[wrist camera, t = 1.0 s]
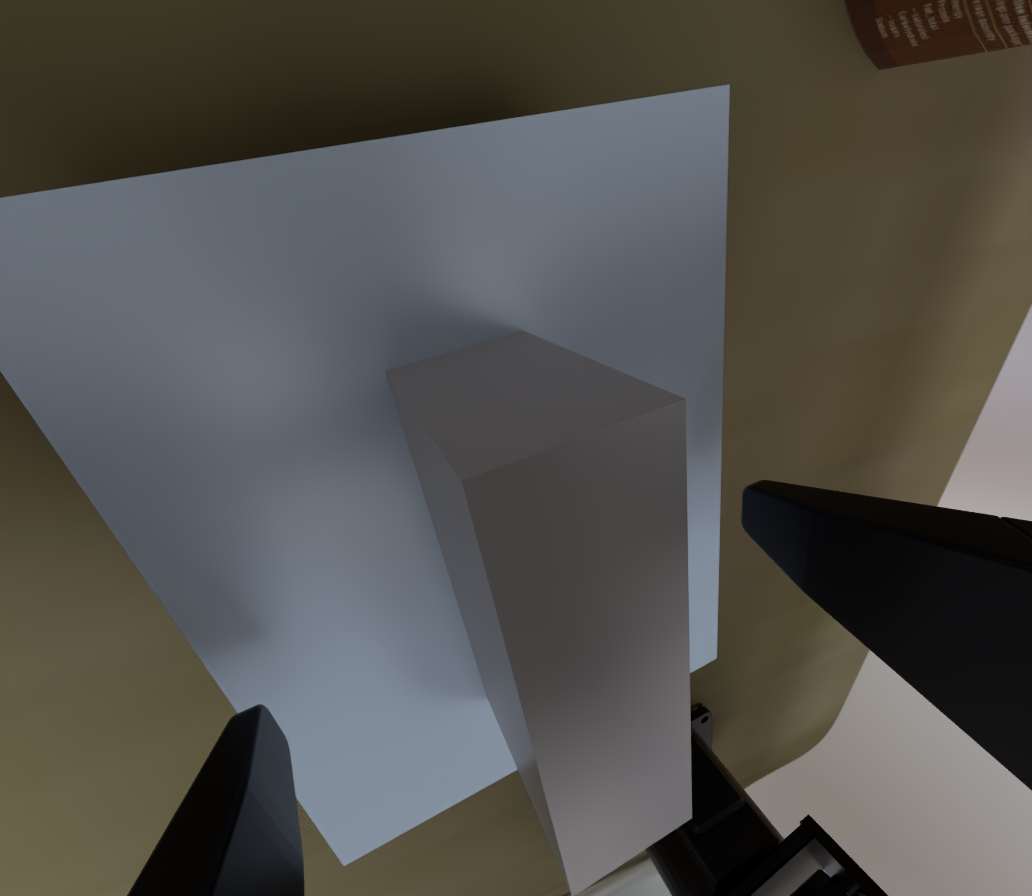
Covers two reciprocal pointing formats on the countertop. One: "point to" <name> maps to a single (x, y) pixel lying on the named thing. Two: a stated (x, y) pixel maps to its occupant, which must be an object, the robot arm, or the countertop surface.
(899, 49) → the food container
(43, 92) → the countertop surface
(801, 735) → the countertop surface
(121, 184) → the lid
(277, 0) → the countertop surface
